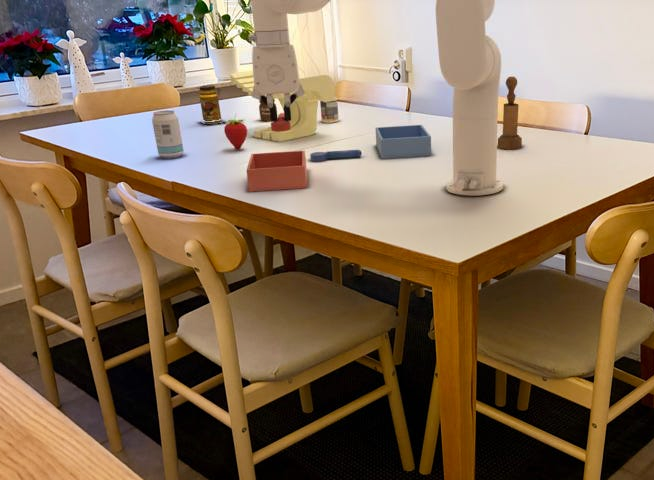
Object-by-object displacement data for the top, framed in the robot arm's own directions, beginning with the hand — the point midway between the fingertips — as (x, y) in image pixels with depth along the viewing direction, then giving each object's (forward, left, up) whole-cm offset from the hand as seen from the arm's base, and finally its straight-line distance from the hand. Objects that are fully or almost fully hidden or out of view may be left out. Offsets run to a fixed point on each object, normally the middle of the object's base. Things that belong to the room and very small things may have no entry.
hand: (281, 123), depth 173 cm
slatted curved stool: (+51, +24, -13) cm, 58 cm away
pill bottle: (+74, +19, -13) cm, 78 cm away
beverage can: (+18, +44, -13) cm, 50 cm away
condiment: (+68, +60, -13) cm, 92 cm away
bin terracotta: (-2, +1, -13) cm, 13 cm away
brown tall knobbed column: (+42, -47, -13) cm, 64 cm away
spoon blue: (+22, -4, -13) cm, 26 cm away
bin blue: (+34, -19, -13) cm, 41 cm away
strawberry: (+29, +29, -13) cm, 43 cm away
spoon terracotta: (0, 0, -1) cm, 1 cm away
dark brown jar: (+75, +42, -13) cm, 87 cm away
